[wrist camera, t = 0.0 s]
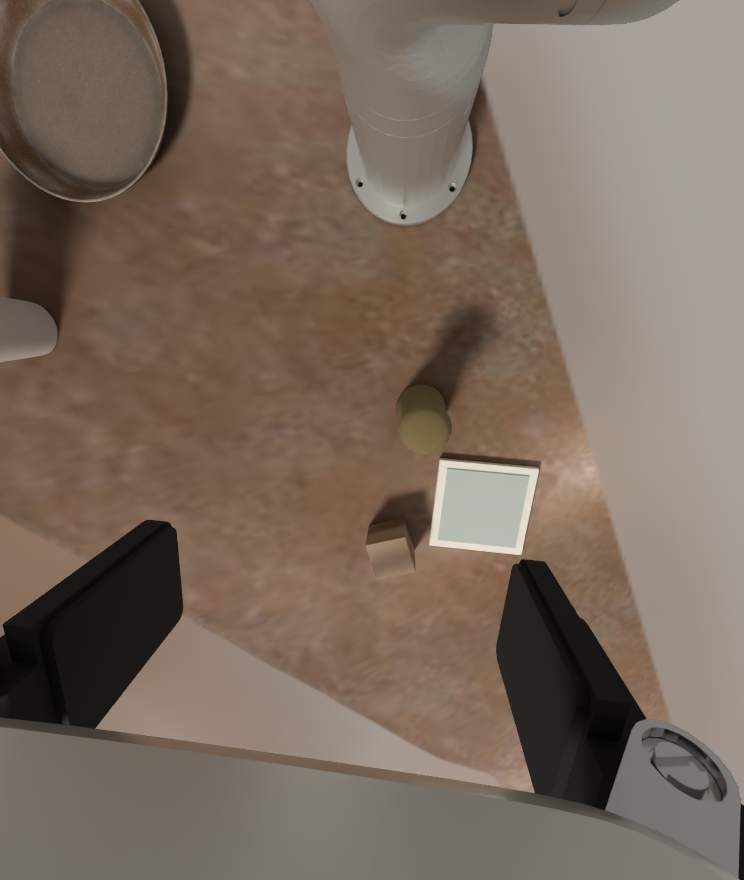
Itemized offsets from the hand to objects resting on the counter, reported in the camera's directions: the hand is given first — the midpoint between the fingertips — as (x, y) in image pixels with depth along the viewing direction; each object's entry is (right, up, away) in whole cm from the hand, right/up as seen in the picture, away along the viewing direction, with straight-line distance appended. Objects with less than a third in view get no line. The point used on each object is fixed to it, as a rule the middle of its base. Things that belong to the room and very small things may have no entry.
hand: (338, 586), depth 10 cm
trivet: (+15, -5, +38) cm, 41 cm away
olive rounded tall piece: (+7, +8, +36) cm, 37 cm away
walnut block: (+4, -9, +41) cm, 42 cm away
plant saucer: (-29, +40, +30) cm, 58 cm away
